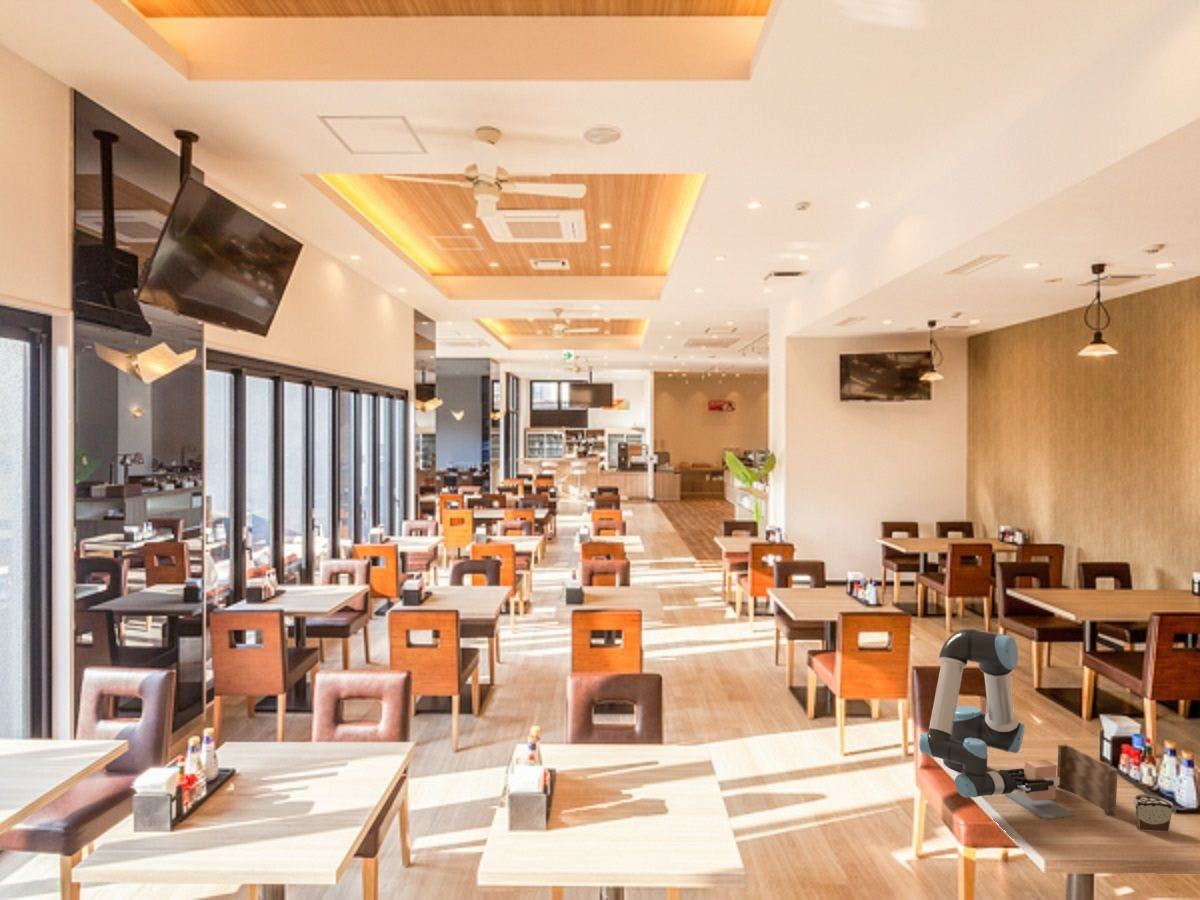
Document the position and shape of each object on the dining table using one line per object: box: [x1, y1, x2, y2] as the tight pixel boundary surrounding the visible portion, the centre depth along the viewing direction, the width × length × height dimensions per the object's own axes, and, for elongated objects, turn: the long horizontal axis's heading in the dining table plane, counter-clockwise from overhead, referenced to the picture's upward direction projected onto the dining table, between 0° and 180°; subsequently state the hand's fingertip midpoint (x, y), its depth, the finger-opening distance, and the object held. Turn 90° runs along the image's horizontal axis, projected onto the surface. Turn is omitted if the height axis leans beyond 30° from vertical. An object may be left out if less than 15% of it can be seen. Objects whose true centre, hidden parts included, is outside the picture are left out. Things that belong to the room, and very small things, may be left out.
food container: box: [1132, 793, 1175, 833], centre depth 263 cm, size 12×6×10 cm, turn 84°
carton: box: [1022, 759, 1058, 801], centre depth 276 cm, size 5×9×12 cm, turn 104°
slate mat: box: [1004, 791, 1076, 820], centre depth 277 cm, size 18×13×1 cm
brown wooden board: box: [1056, 743, 1119, 817], centre depth 281 cm, size 22×4×16 cm, turn 14°
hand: (1052, 777), depth 278 cm, fingers closed on carton, 5 cm apart
